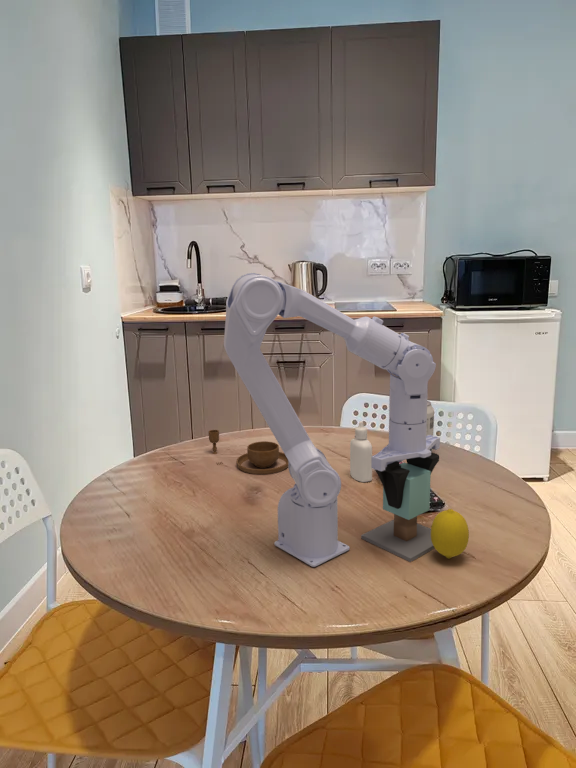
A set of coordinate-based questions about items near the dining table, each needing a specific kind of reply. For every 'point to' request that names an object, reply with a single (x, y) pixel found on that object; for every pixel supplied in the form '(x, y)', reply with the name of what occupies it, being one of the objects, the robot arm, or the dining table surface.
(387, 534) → the base
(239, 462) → the place setting
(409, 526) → the wooden toy block
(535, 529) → the dining table surface
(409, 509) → the upright teal cuboid
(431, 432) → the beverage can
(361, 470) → the eye dropper bottle
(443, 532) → the lemon
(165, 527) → the dining table surface
